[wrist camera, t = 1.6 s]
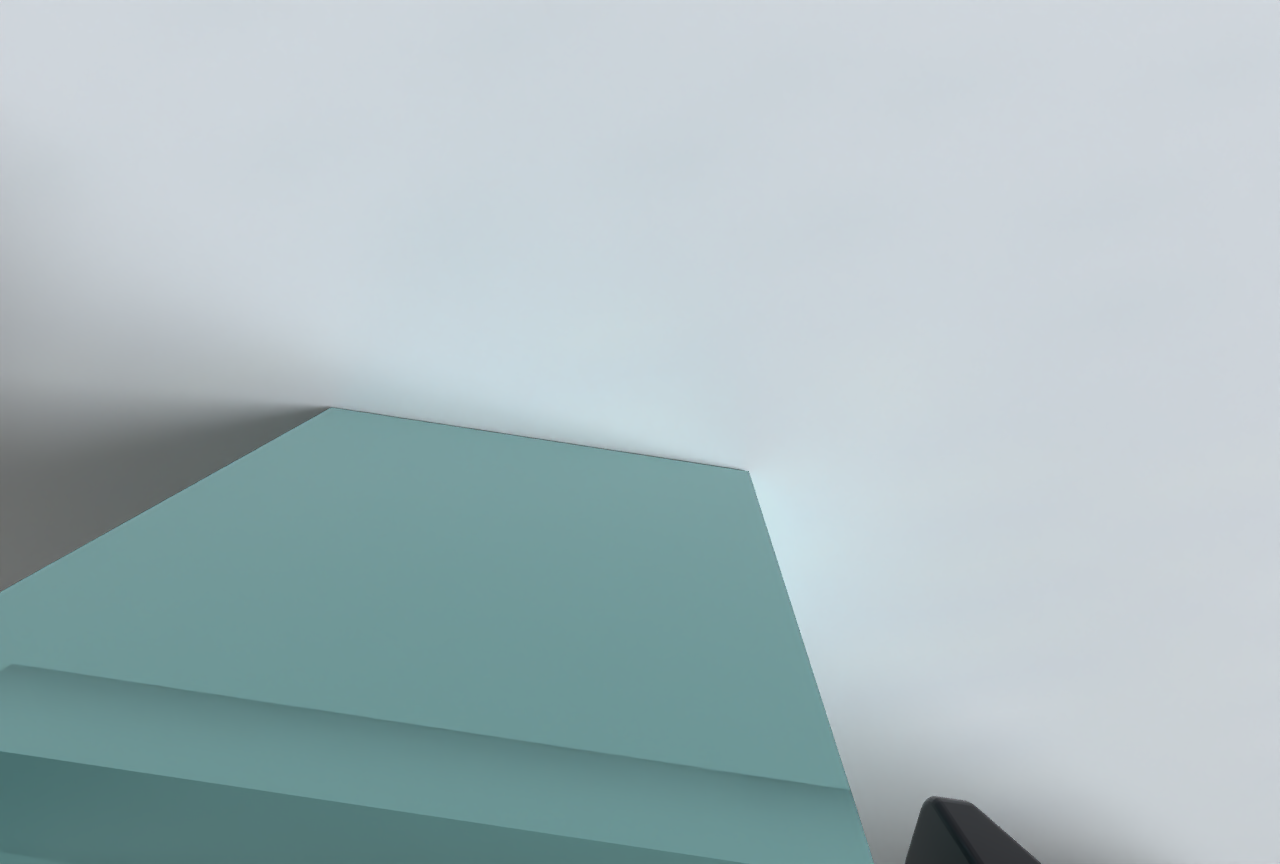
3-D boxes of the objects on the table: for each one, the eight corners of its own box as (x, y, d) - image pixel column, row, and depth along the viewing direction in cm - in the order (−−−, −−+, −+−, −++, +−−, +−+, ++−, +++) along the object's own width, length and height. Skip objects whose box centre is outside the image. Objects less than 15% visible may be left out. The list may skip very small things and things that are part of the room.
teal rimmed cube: (748, 471, 9) (879, 884, 4) (680, 813, 11) (694, 1506, 5) (331, 407, 9) (-224, 716, 4) (317, 758, 11) (-94, 1392, 5)
